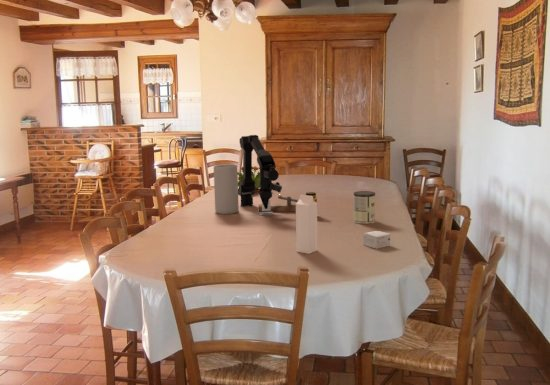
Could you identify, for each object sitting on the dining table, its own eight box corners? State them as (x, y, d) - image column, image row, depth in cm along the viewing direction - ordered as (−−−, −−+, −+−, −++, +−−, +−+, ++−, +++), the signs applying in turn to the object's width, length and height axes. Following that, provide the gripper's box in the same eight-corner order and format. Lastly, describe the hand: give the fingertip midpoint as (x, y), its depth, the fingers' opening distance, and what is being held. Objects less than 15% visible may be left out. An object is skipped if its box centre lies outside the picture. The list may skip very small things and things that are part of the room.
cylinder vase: (242, 210, 290) (241, 164, 286) (231, 215, 279) (229, 167, 275) (222, 209, 295) (221, 164, 291) (210, 213, 284) (209, 166, 280)
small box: (376, 249, 209) (376, 236, 208) (362, 245, 216) (362, 232, 215) (390, 246, 214) (390, 233, 213) (376, 242, 220) (376, 230, 219)
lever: (278, 198, 286) (278, 194, 286) (277, 197, 289) (278, 193, 288) (299, 202, 287) (300, 198, 287) (299, 201, 290) (300, 197, 289)
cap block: (261, 210, 277) (261, 201, 276) (261, 209, 282) (261, 199, 281) (270, 210, 277) (270, 201, 276) (270, 209, 282) (270, 199, 281)
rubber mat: (259, 215, 276) (259, 214, 276) (259, 212, 283) (259, 212, 283) (273, 215, 276) (273, 214, 276) (272, 212, 283) (272, 211, 283)
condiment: (320, 216, 273) (320, 192, 271) (307, 218, 268) (306, 194, 266) (311, 213, 279) (311, 191, 277) (298, 215, 274) (298, 192, 272)
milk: (304, 248, 212) (304, 193, 209) (317, 250, 209) (317, 194, 205) (296, 251, 207) (295, 195, 204) (309, 254, 204) (308, 197, 200)
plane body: (258, 212, 286) (258, 199, 284) (258, 209, 291) (258, 197, 290) (296, 211, 286) (295, 198, 285) (295, 209, 292) (295, 196, 291)
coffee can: (355, 218, 265) (355, 190, 262) (376, 219, 261) (376, 191, 259) (351, 223, 255) (351, 194, 253) (373, 224, 252) (373, 194, 249)
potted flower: (278, 190, 358) (277, 164, 355) (258, 195, 338) (257, 168, 335) (247, 187, 371) (247, 162, 368) (226, 192, 351) (226, 166, 348)
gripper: (281, 180, 268) (282, 211, 270) (280, 175, 286) (280, 204, 289) (259, 181, 267) (260, 211, 270) (259, 176, 286) (260, 204, 288)
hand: (266, 208), depth 279 cm, fingers closed on cap block, 4 cm apart
